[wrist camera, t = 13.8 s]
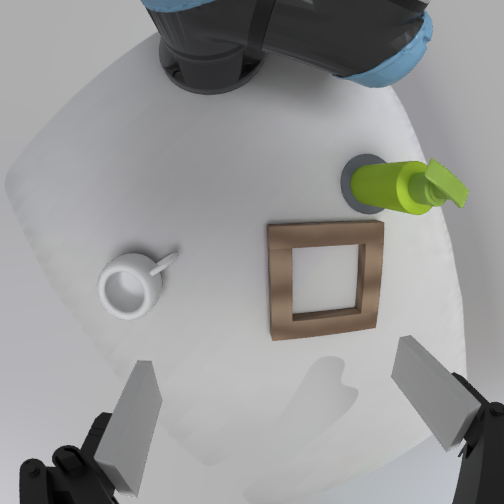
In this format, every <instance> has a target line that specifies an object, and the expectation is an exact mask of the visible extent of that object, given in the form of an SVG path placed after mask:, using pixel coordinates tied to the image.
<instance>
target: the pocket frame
mask: <svg viewBox="0 0 504 504" xmlns="http://www.w3.org/2000/svg"><path fill="white" fill-rule="evenodd" d="M267 238H268V266H269V297H270V333H271V337H272V341H277V340H288V339H298V338H307V337H315V336H324V335H331V334H339V333H346V332H352V331H359V330H365V329H371V328H376V322H377V315H378V306H379V297H380V287H381V276H382V263H383V245H384V222H381V221H378V220H366V221H336V222H310V223H288V224H268V225H267ZM353 244H359V259H358V278H357V293H356V306H355V307H354V308H346V309H337V310H329V311H320V312H310V313H300V314H292V248H302V247H319V246H336V245H353Z"/></svg>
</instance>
